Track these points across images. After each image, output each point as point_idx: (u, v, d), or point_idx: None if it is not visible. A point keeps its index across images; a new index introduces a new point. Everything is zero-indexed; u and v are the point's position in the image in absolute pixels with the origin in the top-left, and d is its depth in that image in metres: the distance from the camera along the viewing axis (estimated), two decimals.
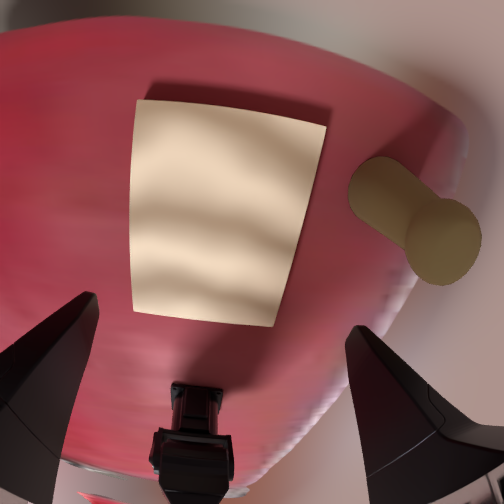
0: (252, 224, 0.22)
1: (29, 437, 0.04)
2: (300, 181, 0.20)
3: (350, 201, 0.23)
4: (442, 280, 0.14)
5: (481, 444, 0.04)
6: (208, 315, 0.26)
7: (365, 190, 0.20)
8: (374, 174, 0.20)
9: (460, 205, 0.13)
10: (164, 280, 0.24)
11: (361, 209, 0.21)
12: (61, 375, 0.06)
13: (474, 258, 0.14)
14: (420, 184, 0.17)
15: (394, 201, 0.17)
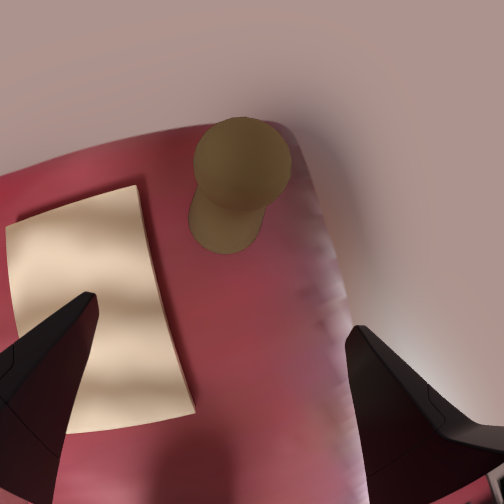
0: (109, 297, 0.20)
1: (29, 436, 0.04)
2: (133, 238, 0.21)
3: (197, 240, 0.23)
4: (249, 180, 0.13)
5: (481, 444, 0.04)
6: (118, 420, 0.18)
7: (192, 212, 0.21)
8: None
9: None
10: None
11: (201, 233, 0.21)
12: (61, 375, 0.06)
13: (277, 143, 0.14)
14: None
15: (198, 187, 0.18)
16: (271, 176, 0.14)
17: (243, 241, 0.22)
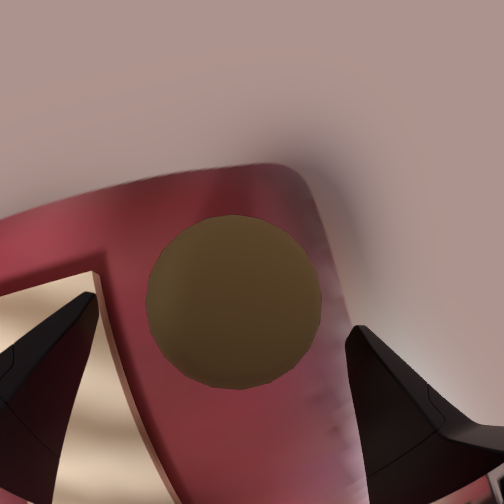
0: (75, 415, 0.13)
1: (29, 437, 0.04)
2: (93, 346, 0.14)
3: None
4: (247, 368, 0.07)
5: (481, 444, 0.04)
6: None
7: None
8: None
9: None
10: None
11: None
12: (61, 375, 0.06)
13: (298, 280, 0.08)
14: None
15: None
16: (287, 353, 0.07)
17: None
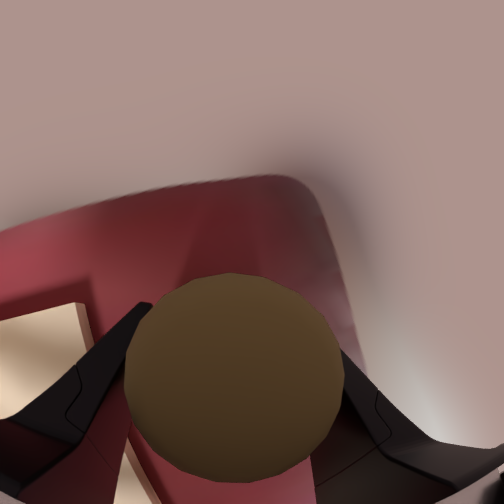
0: None
1: (99, 461, 0.05)
2: None
3: None
4: (251, 472, 0.05)
5: (427, 469, 0.04)
6: None
7: None
8: None
9: (191, 282, 0.06)
10: None
11: None
12: None
13: (319, 369, 0.05)
14: None
15: None
16: (300, 452, 0.05)
17: None
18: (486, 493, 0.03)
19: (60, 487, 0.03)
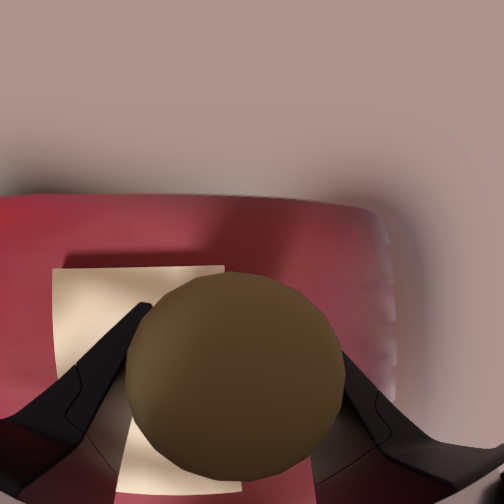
0: None
1: (99, 461, 0.05)
2: None
3: None
4: (252, 470, 0.05)
5: (427, 469, 0.04)
6: (163, 489, 0.16)
7: None
8: None
9: (192, 281, 0.06)
10: None
11: None
12: None
13: (320, 367, 0.05)
14: None
15: None
16: (301, 451, 0.05)
17: None
18: (486, 493, 0.03)
19: (61, 486, 0.03)
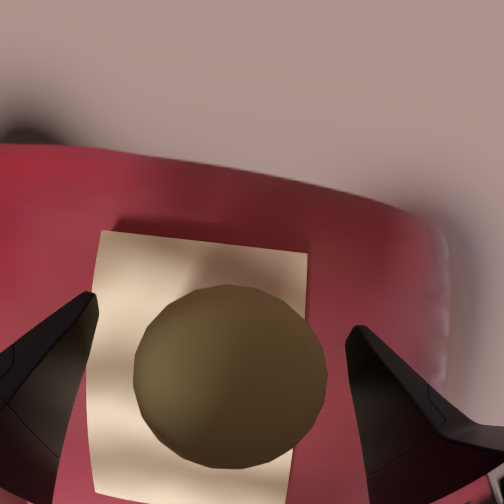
0: None
1: (29, 436, 0.04)
2: None
3: None
4: (244, 459, 0.06)
5: (482, 444, 0.04)
6: (196, 502, 0.14)
7: None
8: None
9: (191, 293, 0.07)
10: (132, 457, 0.14)
11: None
12: (61, 375, 0.06)
13: (302, 369, 0.06)
14: None
15: None
16: (287, 443, 0.06)
17: None
18: None
19: None
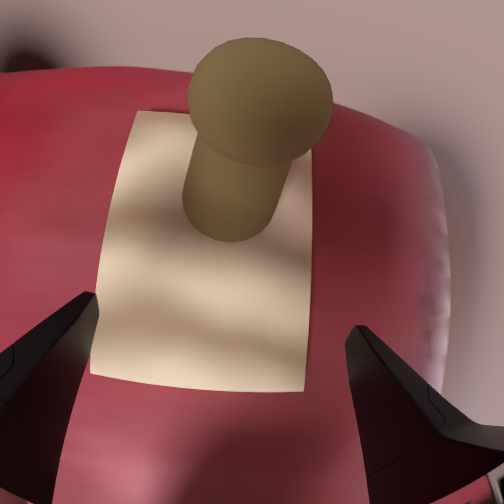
0: None
1: (29, 436, 0.04)
2: (299, 180, 0.20)
3: (194, 224, 0.17)
4: (277, 107, 0.08)
5: (482, 444, 0.04)
6: (204, 379, 0.16)
7: (186, 185, 0.16)
8: None
9: None
10: (139, 316, 0.16)
11: (198, 212, 0.16)
12: (61, 375, 0.06)
13: (312, 66, 0.08)
14: None
15: (194, 144, 0.13)
16: (309, 105, 0.08)
17: (255, 223, 0.16)
18: None
19: None
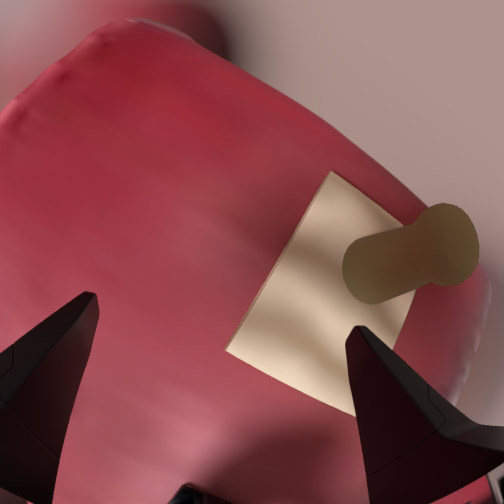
0: None
1: (29, 436, 0.04)
2: None
3: (346, 279, 0.23)
4: (460, 265, 0.14)
5: (482, 444, 0.04)
6: (306, 385, 0.21)
7: (359, 255, 0.22)
8: (364, 241, 0.22)
9: None
10: (285, 326, 0.22)
11: (359, 276, 0.22)
12: (61, 375, 0.06)
13: (477, 243, 0.14)
14: None
15: (390, 240, 0.19)
16: (470, 268, 0.14)
17: (387, 299, 0.22)
18: None
19: None
